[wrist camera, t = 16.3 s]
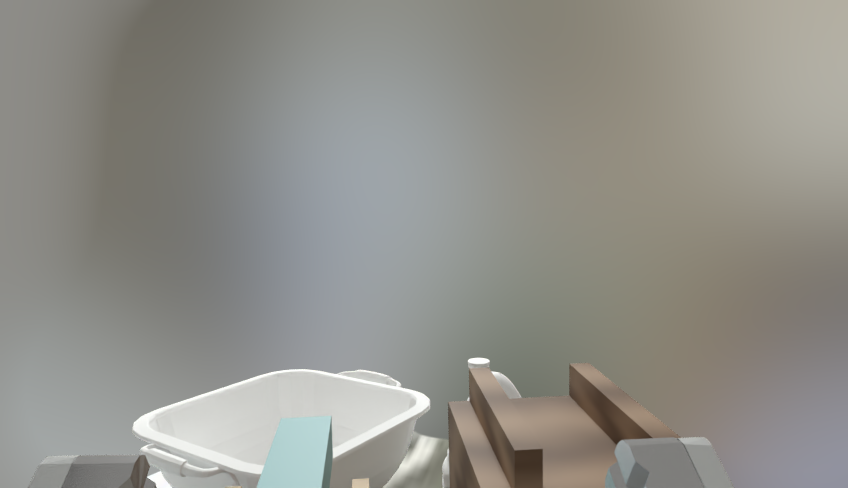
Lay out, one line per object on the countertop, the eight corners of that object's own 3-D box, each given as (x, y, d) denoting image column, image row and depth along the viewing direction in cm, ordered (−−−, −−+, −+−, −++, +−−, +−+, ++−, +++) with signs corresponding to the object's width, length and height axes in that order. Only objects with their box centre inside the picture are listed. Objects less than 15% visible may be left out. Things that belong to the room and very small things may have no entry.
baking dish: (307, 436, 101) (304, 357, 100) (462, 481, 85) (461, 387, 84) (92, 536, 73) (84, 428, 72) (262, 631, 57) (255, 494, 56)
